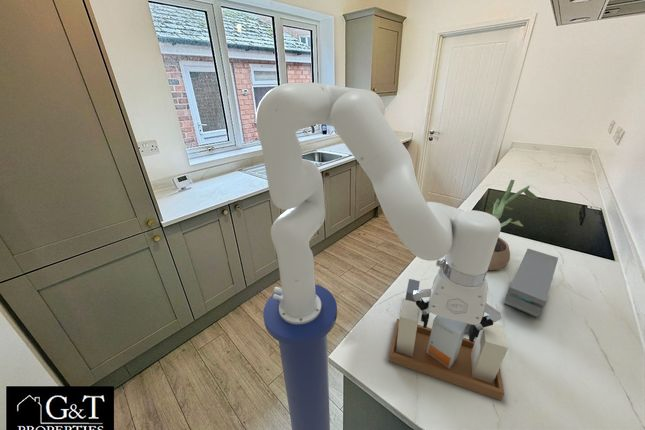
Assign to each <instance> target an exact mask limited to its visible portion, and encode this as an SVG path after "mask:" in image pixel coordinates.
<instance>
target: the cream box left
mask: <svg viewBox="0 0 645 430" xmlns="http://www.w3.org/2000/svg"><path fill="white" fill-rule="evenodd" d="M401 303H402V304H401V308H400V313H399V318H398V319H399V328H398V337H397V347H396V352H399V353H402V354H405V355H408V356H411V357H413V351H414V345H415V338H416V331H417V324H418V323H419V316H420V308H419V307H418V306H417V305H416V302H413V301H408V300H405V298H403V299H402V302H401ZM418 325H419V324H418Z"/></svg>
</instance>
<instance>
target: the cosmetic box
mask: <svg viewBox="0 0 645 430" xmlns="http://www.w3.org/2000/svg"><path fill="white" fill-rule="evenodd" d="M467 326H468V324H466V323H463V322H460V321H456V320H452V319H449V318H445V317H442V316H438V315H436V316H435V317H434V319H433V322H432V326H431V329H432V330H431V334H430V338H429V342H428V346H427V351H426V353H428V354H429V355H431V356H432V357H433V358H435V359H436V360H438V361H439V362H440V363H442V364H443V365H444V366H446V367H447V368H448V369H450V367H451V366H452V364H453V363H454V362H455V360H456V359H457V356H458V353H459V350H460V347H461V344H462V341H463V338H465V335H466V333H465V332H466V329H467Z"/></svg>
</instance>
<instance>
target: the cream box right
mask: <svg viewBox="0 0 645 430" xmlns="http://www.w3.org/2000/svg"><path fill="white" fill-rule="evenodd" d="M474 341H475V343H474V346H473V349H472V352H471V365H472V377H473V378H476V379H479V380H482V381H485V382H488V383H491V384H493V382H494V380H495V377H496V375H497V373H498V370H499V368H500V369H501V365H502V363H503V361H504V359H505V357H506V354H507V351H508V350H509V346H508V341H507V338H506V332H505V327H504V325H503V324H500V323H497V322H494V323H493V325H491V326H487V327H484V328H483V330H480V332H479V335H478V337H475V339H474Z"/></svg>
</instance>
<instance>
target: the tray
mask: <svg viewBox="0 0 645 430" xmlns="http://www.w3.org/2000/svg"><path fill="white" fill-rule="evenodd" d="M398 328H399V318H396V322H395V326H394V330H393V336H392V341H391V345H390V350H389V355H388V362H390V363H393V364H396V365H399V366H401V367H404V368H407V369H410V370H413V371H416V372H418V373H421V374H424V375H426V376H430V377H433V378H435V379H438V380H440V381H444V382H447V383H450V384H453V385H455V386H458V387H460V388H464V389H466V390H469V391H472V392H475V393H478V394H480V395H484V396H487V397H489V398H493V399H495V400H498V401H502V399H503V397H504V395H505V390H504V383H503V378H502V374H501V373H502V372H501V367H500V368H499V370H498V373H497V375H496V377H495V380H494V382H493V384H491V383H488V382H485V381H482V380H479V379H476V378H473V377H472V365H471V352H472V349H473V346H474V343H475V340H474V341H473V342H470V341H469V338H466V337H464V338H463V341H462V344H461V347H460V350H459V353H458V356H457V359H456V360H455V362H454V363H453V364H452V366H451V367H450V369H448V368H447V367H446V366H444V365H443V364H442V363H440V362H439V361H438V360H436V359H435V358H433V357H432V356H431V355H429V354H428V353H426V351H427V346H428V342H429V338H430V334H431V330H432V327H428V326H427V328H423V325H421V324H417V331H416V338H415V345H414V351H413V357H411V356H408V355H405V354H402V353H399V352H396V347H397V337H398Z"/></svg>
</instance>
